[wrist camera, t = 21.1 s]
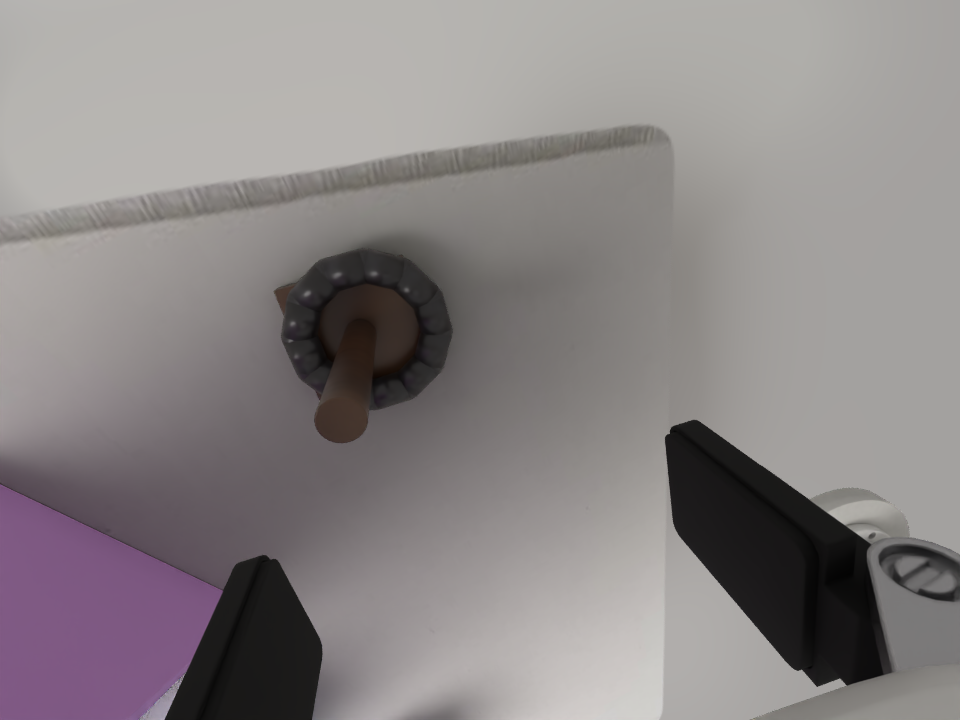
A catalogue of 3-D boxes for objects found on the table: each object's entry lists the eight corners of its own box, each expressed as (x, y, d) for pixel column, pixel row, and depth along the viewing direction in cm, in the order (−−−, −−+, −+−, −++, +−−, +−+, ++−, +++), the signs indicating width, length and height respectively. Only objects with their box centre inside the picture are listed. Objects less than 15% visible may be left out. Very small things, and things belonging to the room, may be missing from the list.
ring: (423, 229, 27) (425, 231, 25) (465, 375, 31) (470, 386, 29) (259, 275, 26) (249, 280, 24) (323, 418, 30) (318, 433, 28)
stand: (402, 254, 28) (411, 295, 16) (436, 366, 31) (464, 472, 19) (277, 288, 27) (187, 357, 15) (323, 400, 30) (279, 531, 18)
